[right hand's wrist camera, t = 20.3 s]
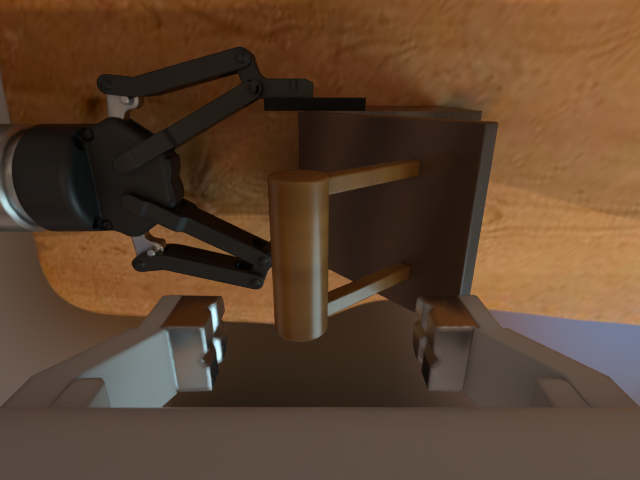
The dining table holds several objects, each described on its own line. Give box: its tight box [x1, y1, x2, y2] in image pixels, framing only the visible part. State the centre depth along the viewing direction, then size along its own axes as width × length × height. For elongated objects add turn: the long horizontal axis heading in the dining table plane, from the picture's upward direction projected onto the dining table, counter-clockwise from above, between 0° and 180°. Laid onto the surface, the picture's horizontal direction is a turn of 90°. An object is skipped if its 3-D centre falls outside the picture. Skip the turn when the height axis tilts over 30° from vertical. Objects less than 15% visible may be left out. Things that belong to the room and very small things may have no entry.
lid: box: [268, 111, 498, 342], centre depth 18 cm, size 12×9×9 cm
